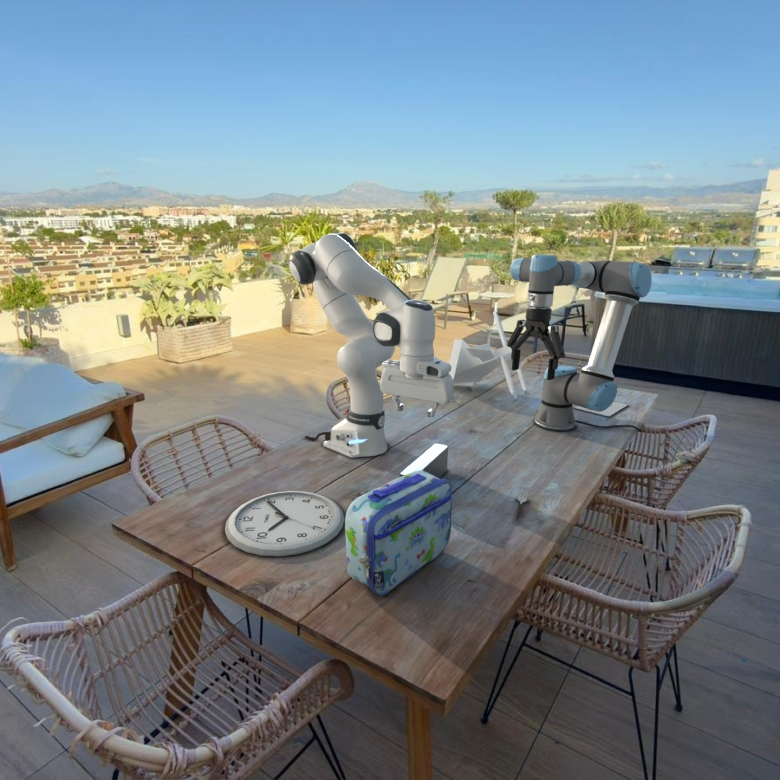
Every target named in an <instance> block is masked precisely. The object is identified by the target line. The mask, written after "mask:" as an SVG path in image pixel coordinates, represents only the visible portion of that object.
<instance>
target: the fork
mask: <svg viewBox="0 0 780 780" xmlns="http://www.w3.org/2000/svg"><path fill="white" fill-rule="evenodd" d="M526 490H527V488H525V489H521V487H519V492H518V495H517V501H518V502H519V505H518V507H517V508H516V509H517V510H516V521H518V520H519V518H520V515H521V513H522V511H523V503H526V502H527V501H528V495H529V490H527V491H526Z"/></svg>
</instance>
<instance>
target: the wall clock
mask: <svg viewBox="0 0 780 780" xmlns="http://www.w3.org/2000/svg"><path fill="white" fill-rule="evenodd" d="M344 515H345V514H344V511H343V509H342V508H341V507H340V505H338V503H336V502H335V501H334V500H333V499H332V500H331V499H330V498H329V497H327V496H324V495H322V494H318V493H316V492H311V491H310V492H309V491H305V490H304V491H303V490H284V491H276V492H272V493H267V494H264V495H260V496H257V497H255V498H252V499H250V500H248V501H246V502H245V503H243V504H241V505H240V506H238V508H236V509H235V510H233V511H232V512H231V513H230V515H229V517H228V518H227V520H226V521H225V527H224V532H225V536H226V538H227V540H228V541H229V542H230V544H231V545H233V546H234V547H235V548H237V549H240V550H241V551H244V552H245V553H248V554H252V555H256V556H262V557H287V556H294V555H296V556H297V555H299V554H304V553H307V552H311V551H313V550H316V549H318V548H320V547H322V546H324V545H327V544H328V543H329V542H331V541H332V540H333V539H335V538H336V537H337V536H338V534H339V533H340V532H341V530H342V529H343V527H344V524H345V516H344Z"/></svg>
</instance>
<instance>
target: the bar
mask: <svg viewBox="0 0 780 780" xmlns="http://www.w3.org/2000/svg"><path fill="white" fill-rule="evenodd" d="M448 457H449V445H445V444H441V443H436V442H435V443H434V444H432V446H430V447H429V448H428V449H426V450H425V451H424V452H423V453H422V454H421V455H420V456H419V457H417V458H416V459H415V460H414V461H413V462H412V463H410V464H409V465H408V466H406V468H405V469H403V470H402V471H401V472H399V477H398V478H400V477H402V476H404V475H407V474H409V473H411V472H414V471H417V470H422V471H425V472H427V473H429V474H431V475H433V476H435V477H437V478H438V479H441V477H442V476H444V474H445V473H446V472H447V471H448V459H449V458H448Z"/></svg>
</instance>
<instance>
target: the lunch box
mask: <svg viewBox="0 0 780 780" xmlns="http://www.w3.org/2000/svg"><path fill="white" fill-rule="evenodd" d="M399 477H400V476H399ZM399 477H398V478H396V479H393V480H391V481H388V482H387V483H385V484H382V485H381V486H379V487H377V488H373V489H372V490H370V491H368V492H367V493H363V494H362V495H360V496H358V497H356V498H355V499H354V500H353V501H352V502H351V503H350V504H349V506H348V508H347V511H346V513H345V516H344V535H345V561H346V571H347V574H348V576H349V577H350V578H352V579H354V580H356V581H358V582H359V583H361V584H363V585H364V586H366V587H367V588H369V590H370V591H371V592H372V593H374V594H376V595H378V596H385V595H386V594H389V593H390V592H391V591H392V590H393V589H395V588H396V587H397V586H398V585H400V584H401V583H402V582H404V581H405V580H407V579H409V578H410V577H411V576H412V575H414V574H415V573H416V572H418V571H419V570H420V569H421V568H422V567H424V566H425V565H427V564H428V563H430V562H431V561H433V560H435V559H436V558H438V557H440V556H441V554H442V553H443V552H444V551H445V549H446V548H447V546H448V543H449V540H450V537H451V533H452V532H451V531H452V511H453V510H452V509H453V508H452V507H453V504H452V503H453V501H452V484H451V483H450V481H449V480H448V479H445V478H439V479H438V478H437V477H435V476H433V475H431V474H429V473H427V472H425V471H422V470H417V471H414V472H411V473H409V474H407V475H404V476H402V477H400V478H399Z"/></svg>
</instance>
